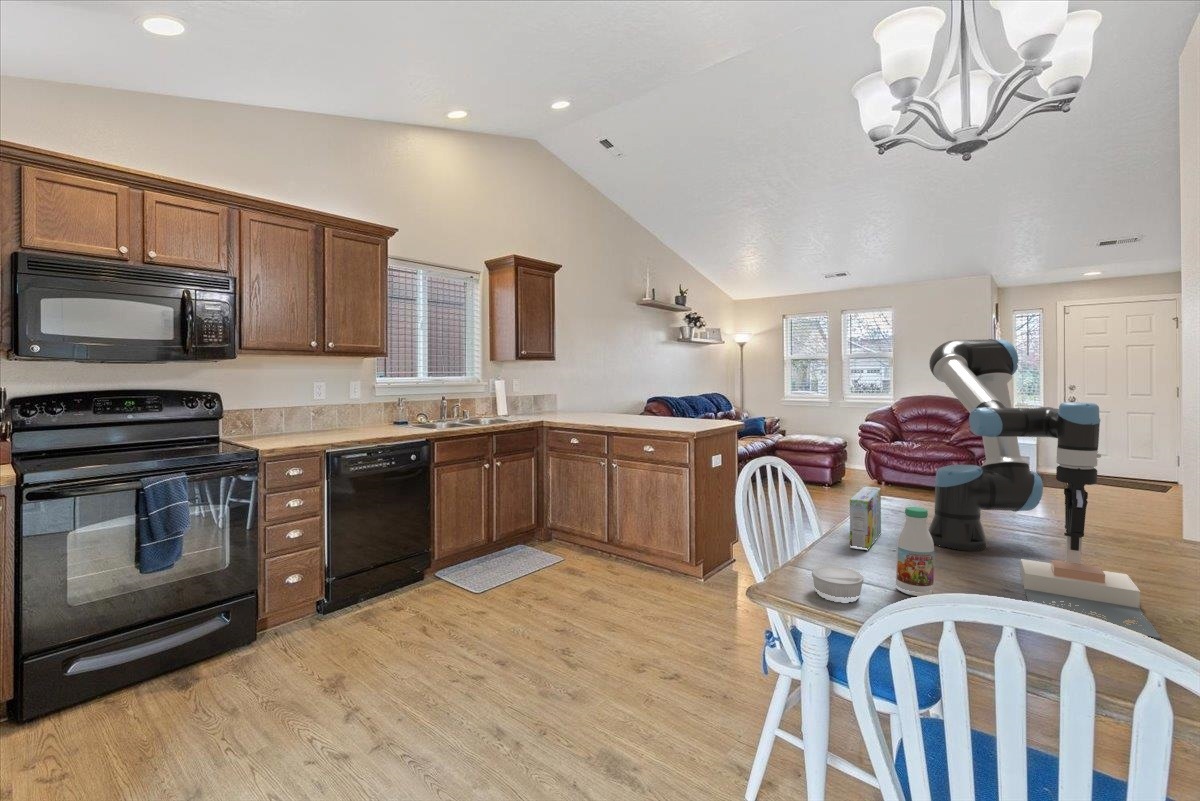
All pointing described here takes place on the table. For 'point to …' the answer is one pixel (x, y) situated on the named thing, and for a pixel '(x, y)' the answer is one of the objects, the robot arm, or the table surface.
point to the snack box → (865, 517)
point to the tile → (1077, 571)
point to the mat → (1098, 610)
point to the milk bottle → (915, 553)
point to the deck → (1080, 585)
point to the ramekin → (837, 581)
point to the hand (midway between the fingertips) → (1072, 561)
